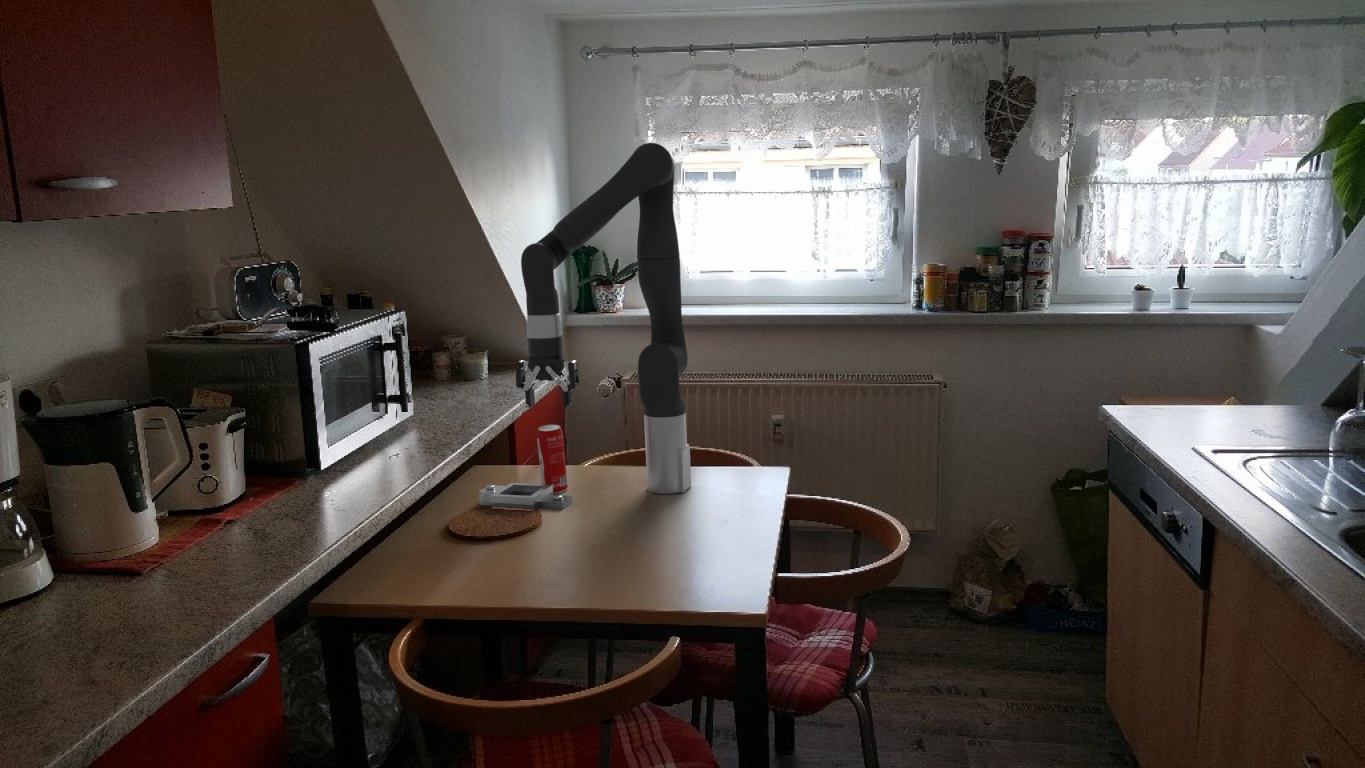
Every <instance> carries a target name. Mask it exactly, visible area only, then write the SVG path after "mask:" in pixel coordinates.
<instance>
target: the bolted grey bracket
mask: <svg viewBox="0 0 1365 768" xmlns="http://www.w3.org/2000/svg"><path fill="white" fill-rule="evenodd" d="M478 498H479V506H490V508H491V507H507V508H522V509H532V510H536V511H537V510H539V509H550V510H564V509H565V508H567V507H568V506H570V505H571V504H572V503H573V496H572V495H563V494H553V485H546V484H542V483H524V482H523V483H522V482H519V483H518V482H510V483H508V484H507V485H495V484H488V485H487V484H486V485H485V487H484V488H482V489H481V490H479V491H478Z"/></svg>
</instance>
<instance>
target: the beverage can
mask: <svg viewBox="0 0 1365 768" xmlns="http://www.w3.org/2000/svg"><path fill="white" fill-rule="evenodd" d="M536 440H537V450H538V451H537V452H538V460H539V470H540V479H541V481H540V482H541V484H546V485H553V495H558V494H561V493H562V494H563V493H564V492H566V491H567V490H568V487H569V486H568V474H567V466H566V465H567V463H566V455H565V445H564V444H565V442H564V434H563V430H562V428H561V425H559V424H553V423H552V424H545V425H541V426H539V427H538V428H537V432H536Z"/></svg>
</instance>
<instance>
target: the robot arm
mask: <svg viewBox="0 0 1365 768" xmlns="http://www.w3.org/2000/svg"><path fill="white" fill-rule="evenodd" d="M675 163H676V162H675V159H674V156H673V154H672V153H671V151H670V150H669V149H668V148H667V147H666V146H664V145H663V144H660V143H657V142H645V143H643V144H641V145H639V146H638V147H637V148H636V149H635V150H634V151H633V153H632V154H631V156H630V157H629V158H628V159H627V160H626V162H624V164H623V165H622V166H621V167H620V168H619V170H618V171H617V172H616V173H615V174H614V175H613V176H612V177H611V178H610V179H609V180H608V181H607V182H606V183H604V184H603V186H601V187H600V188H599V189H598V190H597V191H595V192H594V193H592V195H590V196H589V197H587V198H586V199H584V201H582V202H581V203H580V204H579V205H577V206H576V207H575V208H573V209H572V210H571V211H570V212H568V214H567V215H565V216H564V217H563V218H562V219H560V221H558V222H557V223H556V224H555V225H554V227H553V229H552V230H551V231H549V232H548V233H547V234H546V235H545V236H543V237H542V238H541V239H540V240H538V241H537V242H534V243H531V244H529V245H527V246H526V247H525V248H524V250H523V251H522V253H521V257H520V258H521V259H520V266H521V267H520V268H521V269H520V270H521V275H522V280H523V285H524V288H525V294H526V297H525V300H526V301H525V303H526V335H527V350H528V361H527V360H524V359H520V360H517V361H516V362H515V387H516V388H517V389H523V391H524V397H525V404H526V405H527V407H528V408H534V407H535V406H536V399H535V389H534V386H536V383H537V382H539V381H540V382H541V381H548V382H553V381H554V382H555V383H556V384H557V385H559V387H561V389H562V405H563V406H562V407H563V409H568V408H570V407H571V405H572V404H573V392H572V391H573V390H574V389H576V388H578V387H580V385H581V384H580V377H579V376H580V375H579V367H578V361H577V360H576V359H574V360H571V361H565V360H564V348H563V347H564V346H563V345H564V344H563V331H562V330H563V327H562V320H561V315H560V299H559V292H558V290H557V288H556V286H555V272H554V270H556V269H557V268H558V267H559V266H560V265H562V263H563V262H564V261H566V260H567V259H568V257H570V256H571V254H573V253H574V252H575V251H576V250H578V249H579V248H581V247H583V245H584V244H586V243H587V242H588V241H590V240H591V239H592V238H593V237H594V236H596V235H597V234H598V233H599V232H600V231H601V230H602V229H603V228H604V227H605V226H606V225H607V224H608V223H609V222H611V221H612V219H613V218H614V217H615V216H616V215H617V214H618V213H620V211H621V210H623V208H625V207H626V206H627V205H628V204H630V203H631V202H632V201H633V200H635V199H636V198H638V203H639V220H638V222H639V223H638V229H637V242H636V259H637V277H638V283H639V287H640V290H641V294H642V296H643V299H644V302H645V305H646V308H647V310H648V315H649V319H650V344H649V345H647V346H645V347H644V348H643V349H642V350H641V352H640V353H639V356H638V360H637V361H638V362H637V376H638V378H637V379H638V387H639V398H640V403H641V405H642V408H643V420H644V422H643V423H644V424H643V425H644V438H645V439H644V441H645V442H644V445H645V464H646V465H645V466H646V467H645V468H646V469H645V470H646V485H647V486H646V487H647V490H648V492H651V493H654V494H665V495H667V494H668V495H669V494H677V493H686V491H687V490H688V489H689V488H690V487H691V486H692V477H691V476H692V473H691V471H692V470H691V467H692V466H691V450H690V449H691V445H690V444H689V443H688V440H687V438H688V437H687V411H686V410H687V409H686V402H685V399H684V398H682V396H681V392H680V391H681V390H680V377H681V376H682V375H683V374H684V373H685V371H686V368H687V366H688V362H689V361H688V360H689V359H688V349H687V344H686V339H685V338H686V337H685V332H684V331H685V330H684V325H683V316H682V315H683V314H682V282H681V273H682V272H681V259H680V257H681V256H680V247H679V240H678V239H679V238H678V237H679V236H678V232H677V224H676V220H675V214H674V183H675V182H674V181H675V171H676V164H675ZM528 368H529V370H530V372H531V374H530V375H529V377H528V378H527V377H526V372H527V370H528ZM564 368H565V369H566V371H567V372H568V377H569V378H568V377H567V376H566V374H565V373H564ZM526 378H527V381H526ZM568 379H569V380H568Z"/></svg>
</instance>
